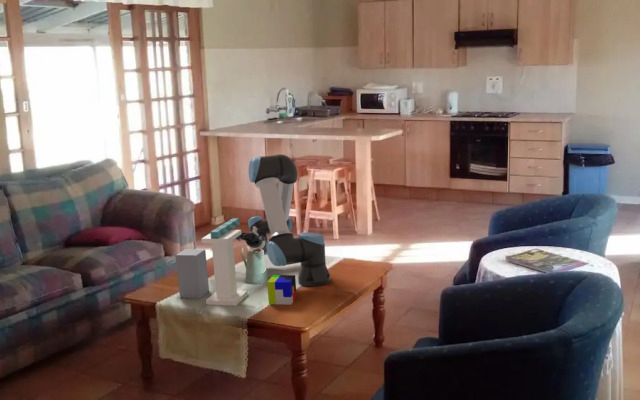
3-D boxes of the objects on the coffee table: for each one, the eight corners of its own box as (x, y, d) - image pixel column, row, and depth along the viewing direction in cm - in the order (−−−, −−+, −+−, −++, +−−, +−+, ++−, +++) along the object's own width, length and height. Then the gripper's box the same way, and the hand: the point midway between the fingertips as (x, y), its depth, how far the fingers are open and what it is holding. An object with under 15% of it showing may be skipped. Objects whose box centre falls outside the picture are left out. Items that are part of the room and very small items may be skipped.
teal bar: (233, 224, 320) (233, 218, 320) (239, 224, 320) (239, 218, 319) (211, 238, 296) (210, 231, 295) (217, 238, 295) (217, 231, 295)
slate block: (189, 290, 325) (185, 249, 321) (209, 291, 322) (205, 249, 319) (179, 297, 315) (175, 255, 312) (200, 298, 313) (196, 255, 309)
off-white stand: (219, 293, 318) (214, 229, 312) (248, 294, 315) (243, 229, 309) (205, 305, 303) (199, 238, 297) (235, 306, 299) (229, 238, 294)
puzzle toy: (291, 304, 298) (289, 282, 296) (268, 304, 300) (267, 282, 298) (296, 296, 307) (295, 275, 305) (274, 296, 309) (273, 275, 308)
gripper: (278, 248, 340) (264, 236, 320) (230, 248, 346) (214, 236, 327) (279, 233, 342) (265, 221, 323) (232, 233, 349) (216, 221, 329)
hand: (239, 228), depth 325 cm, fingers open, 13 cm apart
